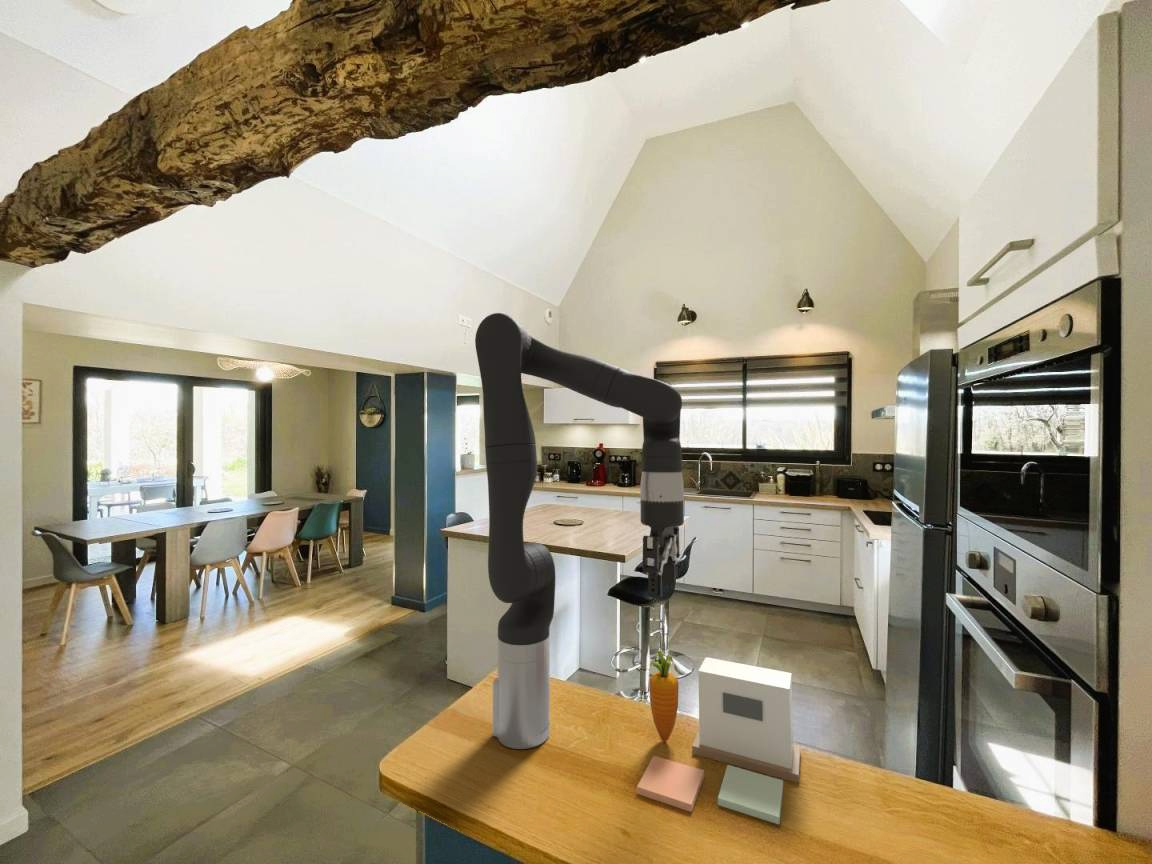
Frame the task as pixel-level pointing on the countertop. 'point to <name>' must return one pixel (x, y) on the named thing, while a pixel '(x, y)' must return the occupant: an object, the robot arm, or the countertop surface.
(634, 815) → the countertop surface
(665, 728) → the carrot
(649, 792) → the terracotta tile
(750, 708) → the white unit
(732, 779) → the sage tile
